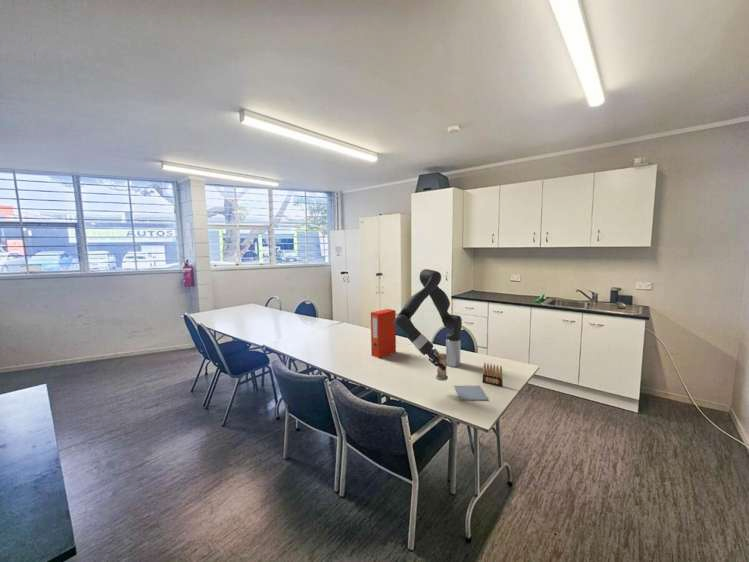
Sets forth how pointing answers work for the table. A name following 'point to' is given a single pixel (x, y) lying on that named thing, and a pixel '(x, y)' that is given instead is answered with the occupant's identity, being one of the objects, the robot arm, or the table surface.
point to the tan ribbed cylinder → (440, 373)
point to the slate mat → (470, 393)
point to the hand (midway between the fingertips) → (445, 367)
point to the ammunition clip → (492, 375)
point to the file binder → (383, 332)
